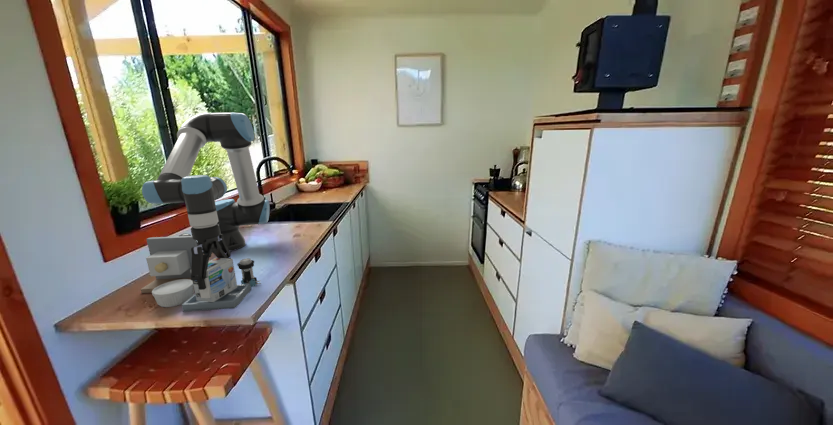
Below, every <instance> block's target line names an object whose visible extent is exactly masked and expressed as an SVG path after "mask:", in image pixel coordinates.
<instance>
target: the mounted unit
mask: <svg viewBox="0 0 833 425" xmlns="http://www.w3.org/2000/svg"><path fill="white" fill-rule="evenodd" d="M145 241H146V244H147V248H148V251H149V256H146V257H145V259H146V265H147V268H148V271H149V275H150V277H155V279H154V280H152V281H151V282H150V283H148V284H146V285H145V286H143V287H141V289H140V292H141V294H152V290H153V289H154V288H156V287H158V286H160V285H162V284H164V283H167V282H171V281H175V280H181V279H190V280H191V271H190V270H191V266H192V252H191V248H192V247H197V242H198V241H197V240H194V239H193V238H192V236H179V235H178V236H160V237H159V236H156V237H155V236H153V237H148V238H146V240H145ZM193 288H194V286H193Z"/></svg>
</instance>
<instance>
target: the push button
mask: <svg viewBox="0 0 833 425" xmlns="http://www.w3.org/2000/svg"><path fill="white" fill-rule="evenodd" d="M254 264H255V260H252V259H251V258H249V257H248V258H242V259H240V260H239V262H238V263H237V264H236V266H237V267H238V269H239V270H241V280H240V283H241V284H250V286H251V288H252V287H256V285H260V284H262V282H261V280H258V279H257V277H256V276H255V275H254V270H253V267H255V265H254Z"/></svg>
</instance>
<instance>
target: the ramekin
mask: <svg viewBox="0 0 833 425" xmlns="http://www.w3.org/2000/svg"><path fill="white" fill-rule="evenodd" d="M151 294H152V297H154V300H155V302H156V304H157V305H158V306H159V307H162V308H173V307H176V306H180V305H182V304H183V303H184V302H186V301H187V300H188V299H189V298H191V297H192V296H193V295H194V287H193V281H192V280H190V279H181V280H175V281H171V282H167V283H164V284H162V285H160V286H158V287H156V288H154V289H153V290H152V293H151Z"/></svg>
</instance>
